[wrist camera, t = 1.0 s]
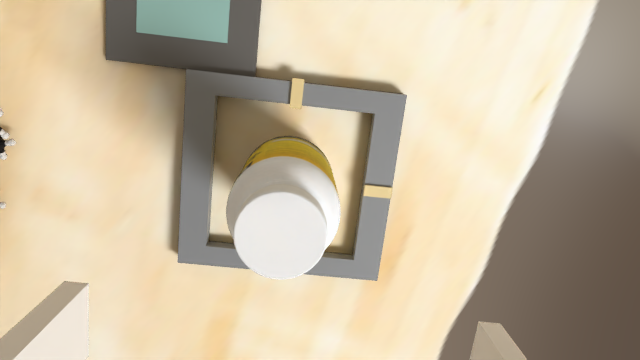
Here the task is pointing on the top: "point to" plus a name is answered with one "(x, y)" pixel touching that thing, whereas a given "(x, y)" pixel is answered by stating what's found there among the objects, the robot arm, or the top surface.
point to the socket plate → (383, 105)
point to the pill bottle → (283, 208)
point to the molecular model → (0, 148)
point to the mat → (185, 34)
